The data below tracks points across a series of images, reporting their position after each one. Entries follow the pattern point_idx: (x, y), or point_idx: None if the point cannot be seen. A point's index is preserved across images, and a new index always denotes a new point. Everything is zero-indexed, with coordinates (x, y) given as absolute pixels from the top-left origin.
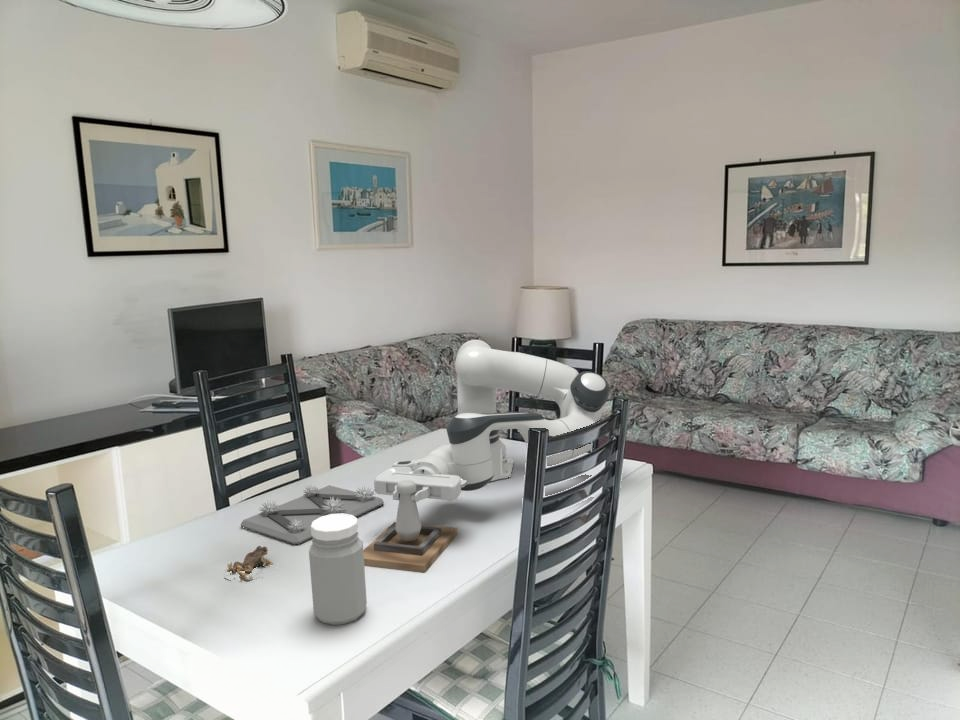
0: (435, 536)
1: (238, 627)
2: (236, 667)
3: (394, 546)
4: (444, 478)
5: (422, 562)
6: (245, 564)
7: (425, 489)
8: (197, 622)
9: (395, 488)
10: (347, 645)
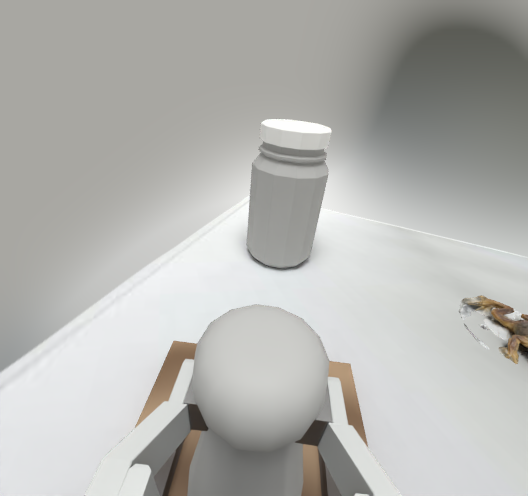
0: None
1: (366, 235)
2: None
3: None
4: None
5: (179, 354)
6: (521, 320)
7: (121, 446)
8: (413, 240)
9: (366, 451)
10: (245, 220)
